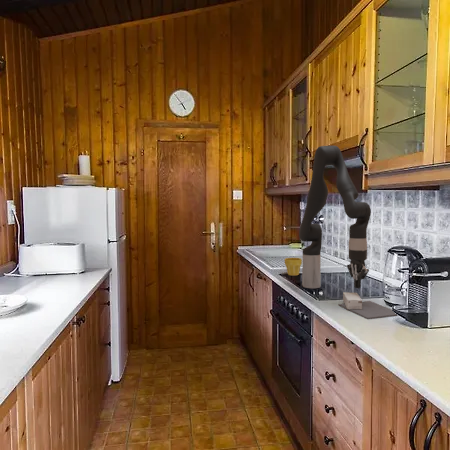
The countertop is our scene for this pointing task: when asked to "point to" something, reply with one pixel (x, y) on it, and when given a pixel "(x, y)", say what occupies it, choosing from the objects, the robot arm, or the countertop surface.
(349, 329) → the countertop surface
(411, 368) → the countertop surface
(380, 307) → the mat
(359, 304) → the skincare box
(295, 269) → the plant pot
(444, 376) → the countertop surface
